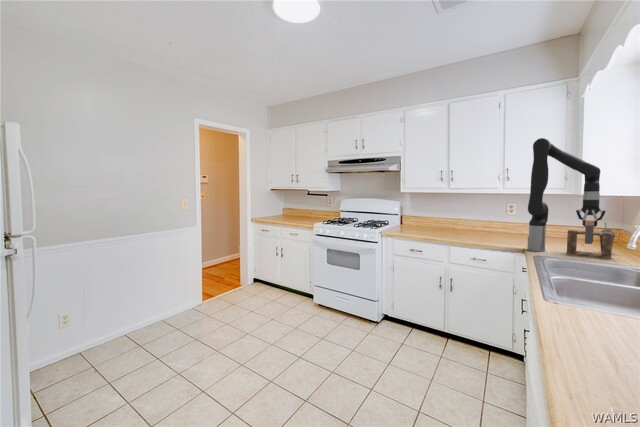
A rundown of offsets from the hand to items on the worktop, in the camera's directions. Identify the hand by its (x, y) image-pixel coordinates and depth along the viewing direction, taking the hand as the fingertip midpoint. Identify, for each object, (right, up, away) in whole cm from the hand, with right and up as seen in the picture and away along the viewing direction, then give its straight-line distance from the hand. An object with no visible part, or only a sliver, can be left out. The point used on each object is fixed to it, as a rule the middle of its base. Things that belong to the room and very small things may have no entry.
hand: (589, 226), depth 179 cm
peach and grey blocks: (0, -10, +1) cm, 10 cm away
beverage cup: (+18, -18, +8) cm, 26 cm away
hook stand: (0, -18, +1) cm, 18 cm away
